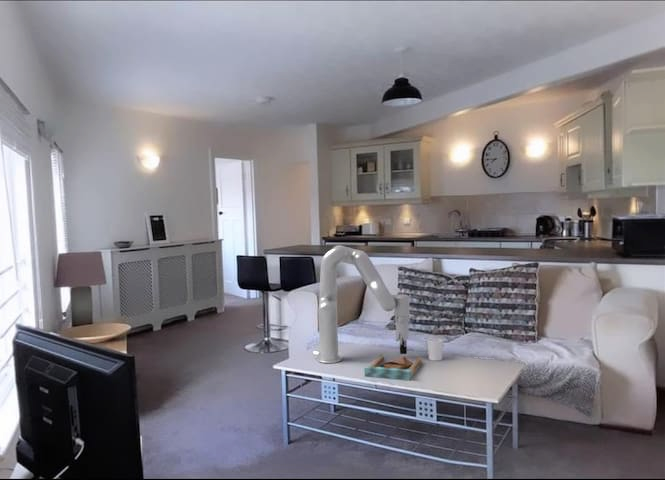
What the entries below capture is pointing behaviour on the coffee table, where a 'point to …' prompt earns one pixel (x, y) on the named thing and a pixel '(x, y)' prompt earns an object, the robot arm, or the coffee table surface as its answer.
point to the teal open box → (390, 370)
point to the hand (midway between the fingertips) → (403, 353)
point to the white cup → (435, 348)
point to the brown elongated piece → (398, 363)
